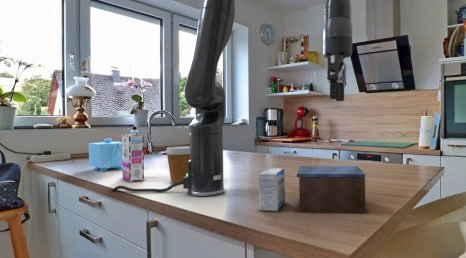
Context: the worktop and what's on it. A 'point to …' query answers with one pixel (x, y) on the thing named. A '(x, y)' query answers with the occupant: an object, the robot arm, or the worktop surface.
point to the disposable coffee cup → (178, 162)
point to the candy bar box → (133, 157)
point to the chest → (332, 194)
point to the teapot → (105, 155)
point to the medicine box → (271, 189)
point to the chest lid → (330, 171)
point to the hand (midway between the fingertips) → (337, 100)
